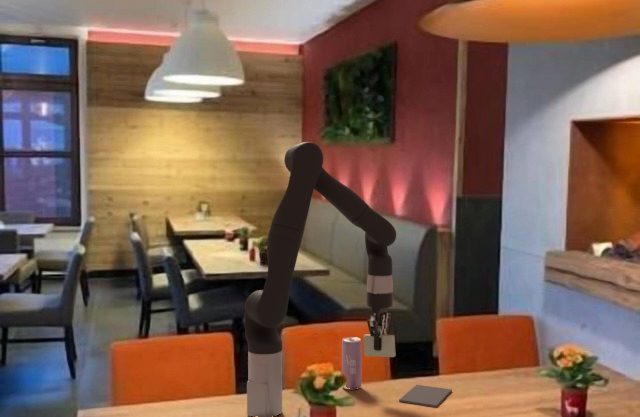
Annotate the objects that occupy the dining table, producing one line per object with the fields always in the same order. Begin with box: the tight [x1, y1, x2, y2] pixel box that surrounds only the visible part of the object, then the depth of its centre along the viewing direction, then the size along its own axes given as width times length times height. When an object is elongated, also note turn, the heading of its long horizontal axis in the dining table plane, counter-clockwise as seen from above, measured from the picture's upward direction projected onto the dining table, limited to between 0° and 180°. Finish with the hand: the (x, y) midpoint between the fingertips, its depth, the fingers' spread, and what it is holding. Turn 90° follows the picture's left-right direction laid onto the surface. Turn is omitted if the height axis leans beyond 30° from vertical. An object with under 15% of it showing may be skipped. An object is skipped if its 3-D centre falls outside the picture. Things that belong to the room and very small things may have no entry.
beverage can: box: [341, 336, 362, 389], centre depth 204 cm, size 6×6×15 cm
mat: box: [398, 384, 453, 408], centre depth 196 cm, size 16×11×1 cm
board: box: [363, 333, 397, 358], centre depth 194 cm, size 2×9×6 cm, turn 64°
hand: (378, 349), depth 194 cm, fingers closed on board, 1 cm apart
